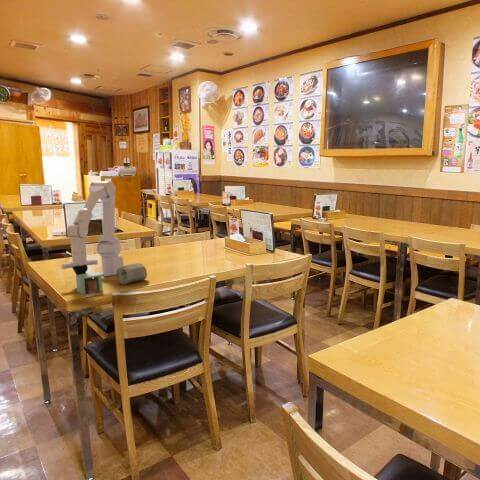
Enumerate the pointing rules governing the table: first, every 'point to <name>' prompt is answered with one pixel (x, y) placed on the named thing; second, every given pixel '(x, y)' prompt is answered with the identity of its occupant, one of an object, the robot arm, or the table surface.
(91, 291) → the tall brown box
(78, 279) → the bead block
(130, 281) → the spool
